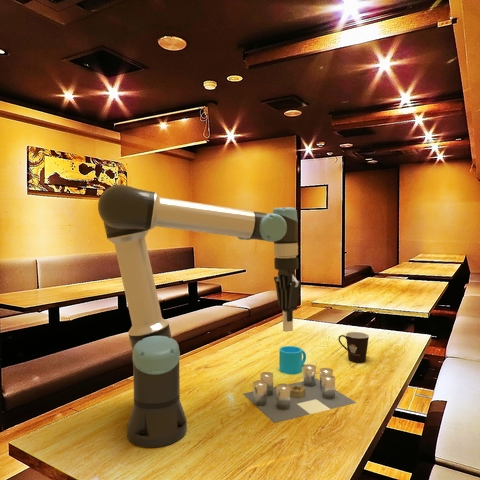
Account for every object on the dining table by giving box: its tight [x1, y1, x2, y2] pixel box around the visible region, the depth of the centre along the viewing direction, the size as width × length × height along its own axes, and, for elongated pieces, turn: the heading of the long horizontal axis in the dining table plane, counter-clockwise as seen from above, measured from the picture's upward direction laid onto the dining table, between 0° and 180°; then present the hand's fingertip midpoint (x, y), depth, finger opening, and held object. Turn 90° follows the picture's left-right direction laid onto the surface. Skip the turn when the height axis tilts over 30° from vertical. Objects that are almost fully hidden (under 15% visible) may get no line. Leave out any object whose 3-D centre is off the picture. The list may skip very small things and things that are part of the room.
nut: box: [290, 385, 305, 398], centre depth 122 cm, size 5×4×2 cm
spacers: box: [252, 363, 336, 410], centre depth 121 cm, size 28×14×6 cm, turn 115°
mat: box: [242, 378, 357, 424], centre depth 120 cm, size 28×20×1 cm
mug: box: [278, 345, 307, 375], centre depth 144 cm, size 12×8×8 cm
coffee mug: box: [337, 331, 370, 364], centre depth 155 cm, size 12×9×10 cm
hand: (288, 330), depth 125 cm, fingers closed
